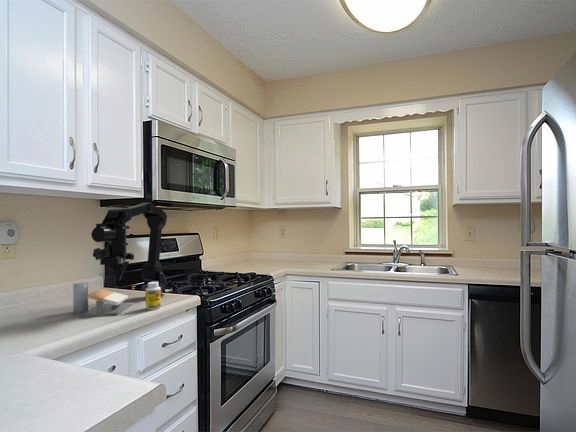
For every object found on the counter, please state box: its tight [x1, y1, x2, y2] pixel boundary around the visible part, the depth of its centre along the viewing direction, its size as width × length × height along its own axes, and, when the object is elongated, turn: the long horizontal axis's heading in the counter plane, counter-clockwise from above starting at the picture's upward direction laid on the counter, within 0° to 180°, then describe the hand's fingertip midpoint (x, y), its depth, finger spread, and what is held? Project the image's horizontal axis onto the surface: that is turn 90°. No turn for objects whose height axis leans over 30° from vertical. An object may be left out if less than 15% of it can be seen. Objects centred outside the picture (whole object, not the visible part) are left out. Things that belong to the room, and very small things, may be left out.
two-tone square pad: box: [87, 288, 129, 305], centre depth 132 cm, size 12×11×2 cm
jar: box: [72, 281, 89, 315], centre depth 130 cm, size 5×5×11 cm
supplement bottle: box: [145, 282, 162, 311], centre depth 134 cm, size 6×6×10 cm
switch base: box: [79, 291, 134, 318], centre depth 132 cm, size 16×13×6 cm
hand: (118, 280), depth 132 cm, fingers closed
